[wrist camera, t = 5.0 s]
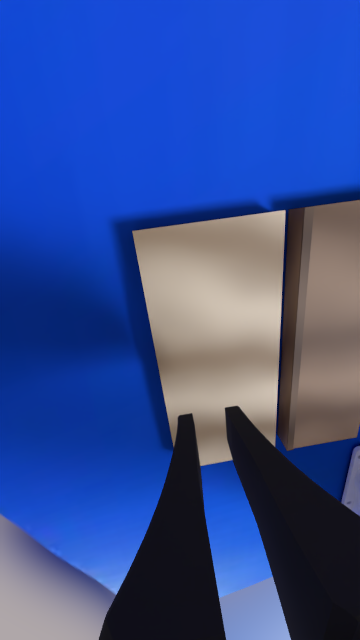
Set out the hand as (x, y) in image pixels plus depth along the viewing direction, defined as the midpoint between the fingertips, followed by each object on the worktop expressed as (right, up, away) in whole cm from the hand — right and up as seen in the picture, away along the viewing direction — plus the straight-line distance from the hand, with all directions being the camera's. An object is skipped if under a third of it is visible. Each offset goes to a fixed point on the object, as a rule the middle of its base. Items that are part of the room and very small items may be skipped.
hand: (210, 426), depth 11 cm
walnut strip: (+9, +4, +6) cm, 11 cm away
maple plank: (+1, +3, +6) cm, 6 cm away
